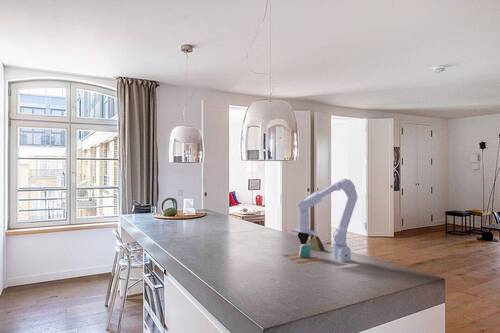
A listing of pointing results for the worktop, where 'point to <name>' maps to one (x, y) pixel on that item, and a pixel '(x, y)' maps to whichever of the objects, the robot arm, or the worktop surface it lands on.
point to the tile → (305, 250)
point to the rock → (316, 244)
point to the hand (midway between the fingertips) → (303, 246)
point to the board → (304, 259)
